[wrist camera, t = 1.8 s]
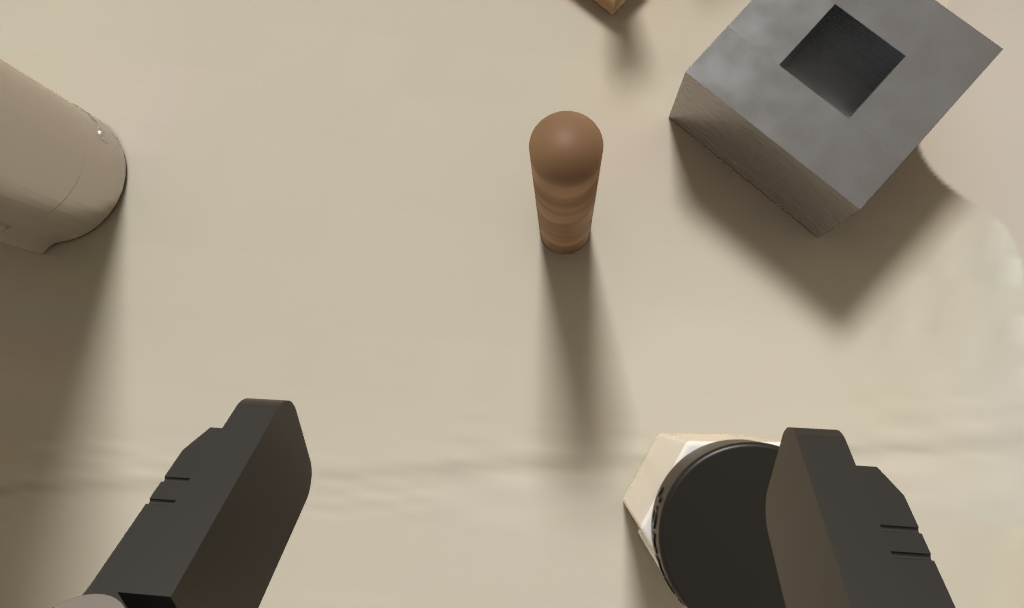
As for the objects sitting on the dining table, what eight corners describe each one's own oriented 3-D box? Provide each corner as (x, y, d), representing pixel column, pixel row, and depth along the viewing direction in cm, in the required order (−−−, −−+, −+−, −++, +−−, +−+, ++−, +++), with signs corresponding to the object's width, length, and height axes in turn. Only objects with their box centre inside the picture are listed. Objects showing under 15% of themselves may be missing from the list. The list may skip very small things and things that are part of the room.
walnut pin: (566, 264, 43) (568, 196, 29) (529, 231, 43) (514, 149, 29) (600, 227, 43) (618, 142, 29) (563, 195, 43) (563, 96, 30)
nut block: (817, 237, 42) (860, 209, 36) (668, 117, 44) (685, 71, 38) (941, 98, 42) (1003, 48, 37) (789, -14, 44) (825, -79, 38)
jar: (600, 468, 41) (615, 493, 29) (716, 400, 41) (780, 398, 29) (679, 606, 39) (730, 692, 27) (800, 535, 39) (903, 591, 27)
